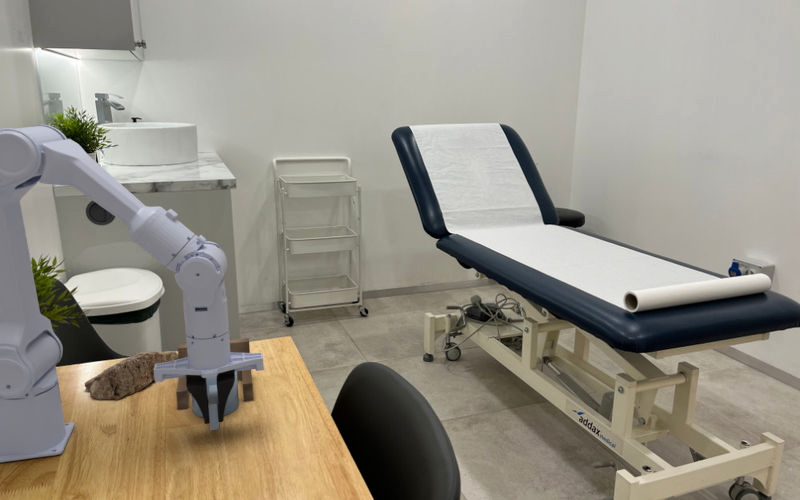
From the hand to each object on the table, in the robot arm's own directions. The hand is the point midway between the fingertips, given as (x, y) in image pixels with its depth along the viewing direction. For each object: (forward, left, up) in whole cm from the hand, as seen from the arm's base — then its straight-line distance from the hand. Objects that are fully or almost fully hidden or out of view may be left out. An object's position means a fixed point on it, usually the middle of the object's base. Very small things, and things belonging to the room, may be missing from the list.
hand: (214, 419), depth 86 cm
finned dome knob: (0, +5, -2) cm, 6 cm away
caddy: (0, +14, -2) cm, 14 cm away
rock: (-14, +22, -3) cm, 26 cm away
